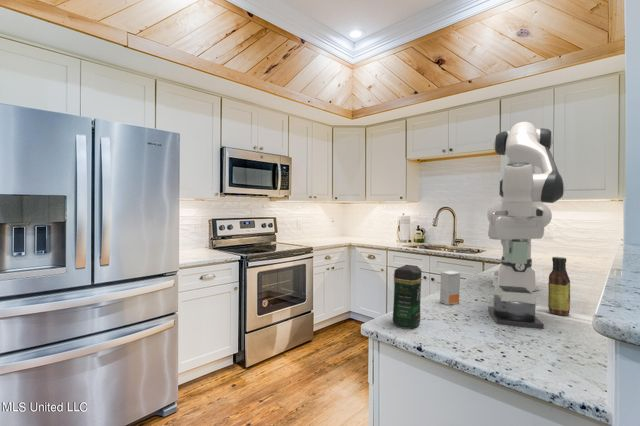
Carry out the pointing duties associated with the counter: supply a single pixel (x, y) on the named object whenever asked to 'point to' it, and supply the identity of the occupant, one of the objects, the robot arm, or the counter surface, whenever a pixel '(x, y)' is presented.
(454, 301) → the skincare box
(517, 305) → the framed dark dome
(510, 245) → the pale green block
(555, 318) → the counter surface
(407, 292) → the coffee jar
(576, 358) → the counter surface
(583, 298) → the counter surface
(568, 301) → the sauce bottle
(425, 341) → the counter surface
